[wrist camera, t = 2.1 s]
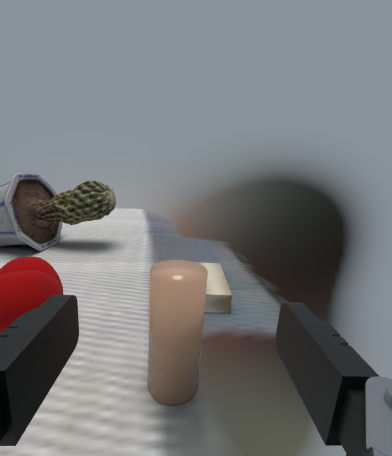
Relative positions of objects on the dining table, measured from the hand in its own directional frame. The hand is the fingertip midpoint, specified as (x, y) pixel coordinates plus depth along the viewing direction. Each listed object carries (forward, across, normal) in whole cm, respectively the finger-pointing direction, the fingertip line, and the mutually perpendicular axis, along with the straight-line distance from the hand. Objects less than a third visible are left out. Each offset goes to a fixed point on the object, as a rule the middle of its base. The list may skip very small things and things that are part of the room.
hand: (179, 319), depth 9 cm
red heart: (+15, +16, +15) cm, 27 cm away
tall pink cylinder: (+12, 0, +15) cm, 19 cm away
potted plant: (+48, +31, +14) cm, 59 cm away
